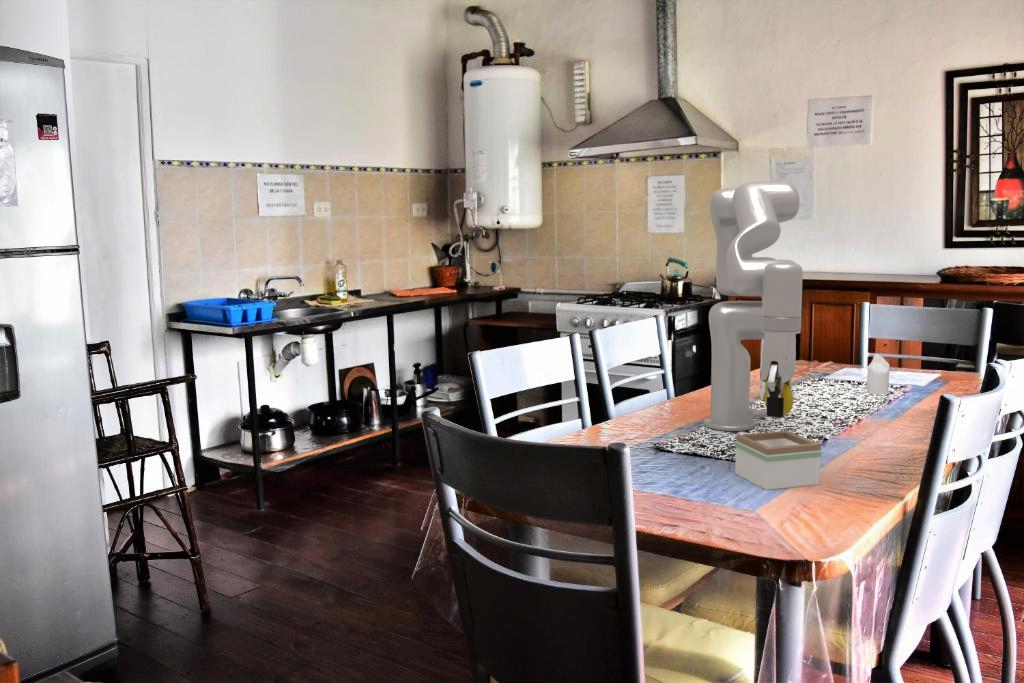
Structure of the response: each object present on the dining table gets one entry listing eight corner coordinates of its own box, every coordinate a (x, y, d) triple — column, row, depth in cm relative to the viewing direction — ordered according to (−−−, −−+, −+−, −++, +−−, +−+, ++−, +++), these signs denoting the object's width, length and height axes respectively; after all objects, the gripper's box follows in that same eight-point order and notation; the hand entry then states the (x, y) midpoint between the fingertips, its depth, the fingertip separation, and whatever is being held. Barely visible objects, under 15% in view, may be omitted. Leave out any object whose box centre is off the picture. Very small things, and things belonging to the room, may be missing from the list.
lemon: (760, 416, 192) (761, 378, 191) (786, 415, 193) (787, 377, 191) (769, 422, 187) (771, 383, 186) (796, 422, 187) (798, 382, 186)
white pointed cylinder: (892, 353, 273) (887, 356, 268) (890, 394, 274) (885, 397, 270) (871, 351, 276) (865, 354, 271) (869, 391, 278) (864, 395, 273)
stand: (785, 468, 199) (787, 430, 198) (820, 484, 187) (821, 444, 186) (734, 473, 196) (735, 435, 194) (766, 490, 184) (767, 449, 183)
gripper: (772, 319, 196) (770, 404, 199) (751, 328, 181) (748, 420, 184) (809, 321, 193) (806, 407, 195) (790, 331, 178) (787, 424, 180)
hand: (778, 412), depth 189 cm, fingers closed on lemon, 5 cm apart
